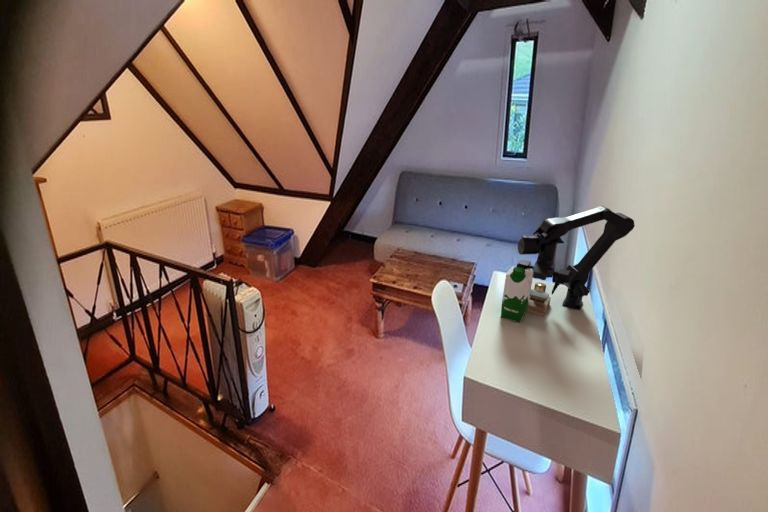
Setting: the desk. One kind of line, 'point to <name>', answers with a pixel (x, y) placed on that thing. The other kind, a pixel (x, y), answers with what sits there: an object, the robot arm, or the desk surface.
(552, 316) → the desk surface
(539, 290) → the peg
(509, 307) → the milk carton
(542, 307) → the socket block
